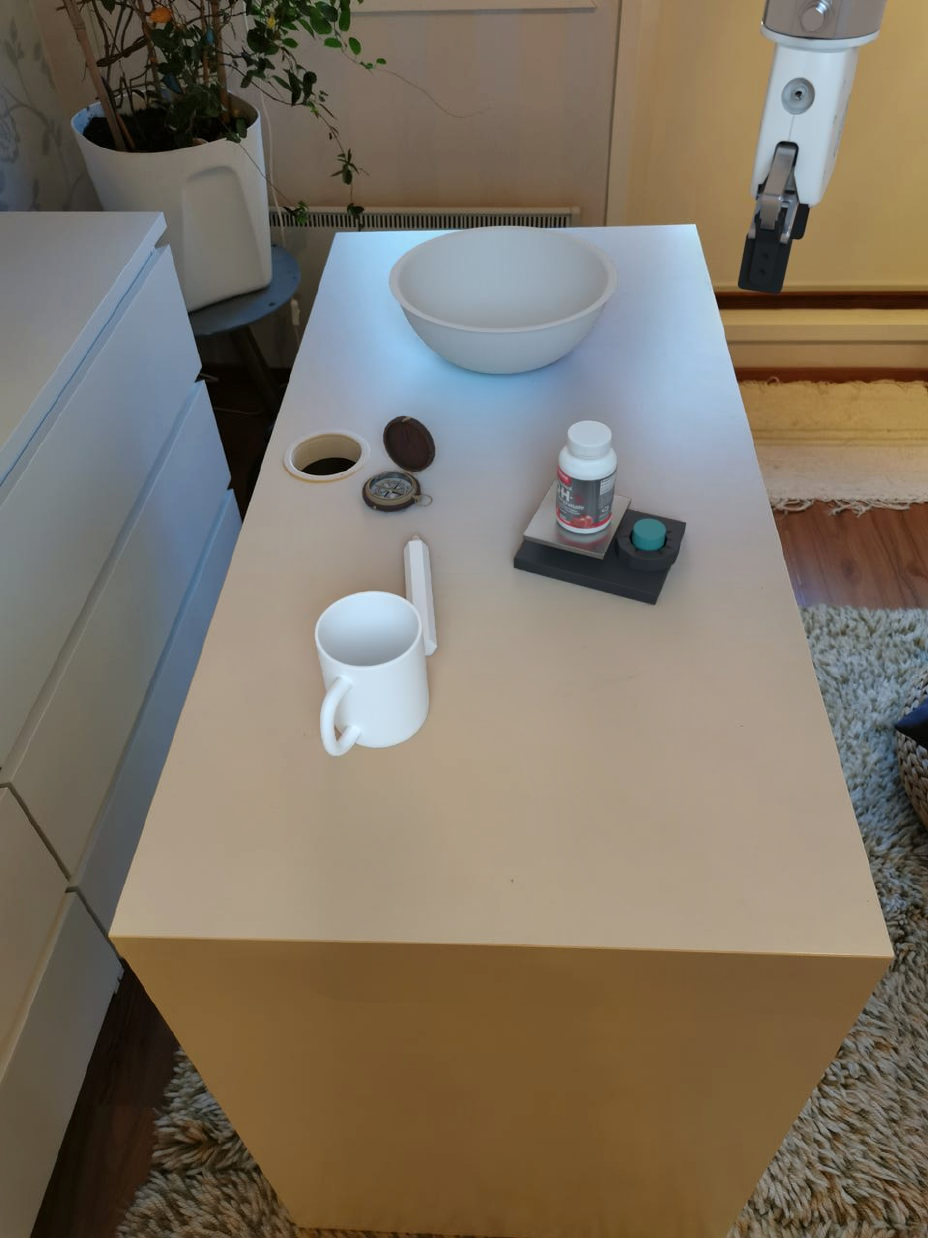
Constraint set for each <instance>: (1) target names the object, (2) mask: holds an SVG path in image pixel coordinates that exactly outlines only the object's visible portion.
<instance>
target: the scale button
mask: <svg viewBox="0 0 928 1238" xmlns="http://www.w3.org/2000/svg"><path fill="white" fill-rule="evenodd" d="M665 533H666V528H665V526H664V525H663V524H662V523H661V522H660V521H658V520H655V519H642V520H639V521H638V522H636V523H635V525H634V528H633V536H632V542H633V544H634V545H635V546H636V547H637V548H638V549H641V550H645V551H654V550H658V549H660V548H661V547H662V546H663V544H664V540H665Z"/></svg>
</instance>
